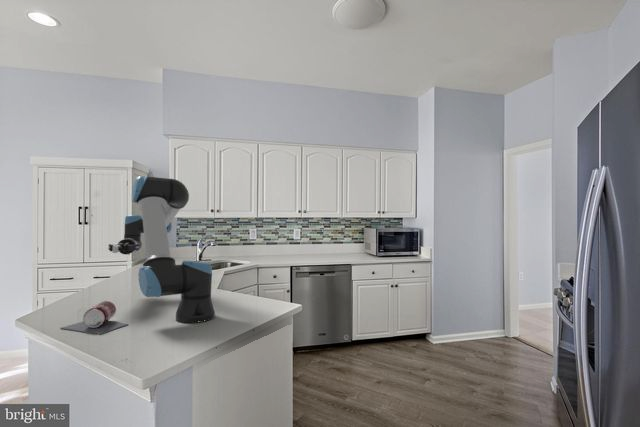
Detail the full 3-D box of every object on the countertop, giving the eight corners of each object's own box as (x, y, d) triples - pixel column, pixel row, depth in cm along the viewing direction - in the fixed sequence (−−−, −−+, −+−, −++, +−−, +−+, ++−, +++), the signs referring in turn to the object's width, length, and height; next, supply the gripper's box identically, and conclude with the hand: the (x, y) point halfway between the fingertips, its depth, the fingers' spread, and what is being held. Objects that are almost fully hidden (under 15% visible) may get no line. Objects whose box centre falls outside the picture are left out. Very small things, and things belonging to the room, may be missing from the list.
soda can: (107, 323, 133) (95, 332, 121) (91, 312, 131) (77, 321, 120) (120, 307, 134) (110, 316, 122) (104, 297, 133) (92, 304, 121)
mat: (128, 325, 127) (128, 323, 128) (99, 334, 116) (99, 333, 116) (91, 320, 133) (91, 319, 133) (60, 328, 121) (60, 327, 121)
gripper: (142, 253, 168) (131, 258, 145) (112, 254, 164) (96, 258, 141) (142, 238, 168) (132, 240, 146) (112, 238, 164) (97, 240, 142)
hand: (114, 249), depth 144 cm, fingers closed
